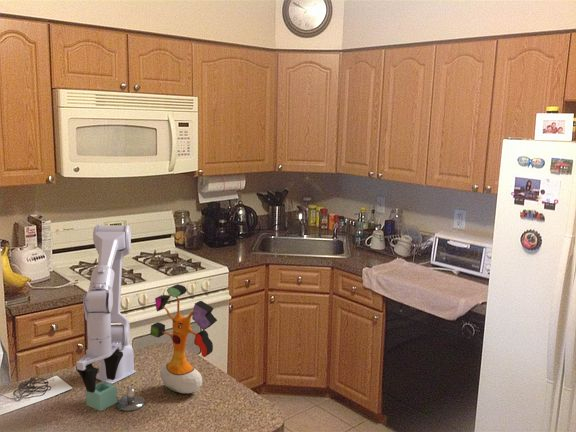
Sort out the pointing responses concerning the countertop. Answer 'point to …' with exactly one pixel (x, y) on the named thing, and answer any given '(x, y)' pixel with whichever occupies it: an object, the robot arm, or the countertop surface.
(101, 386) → the collar
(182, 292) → the decorative sculpture
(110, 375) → the robot arm
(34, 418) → the countertop surface
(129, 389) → the post
